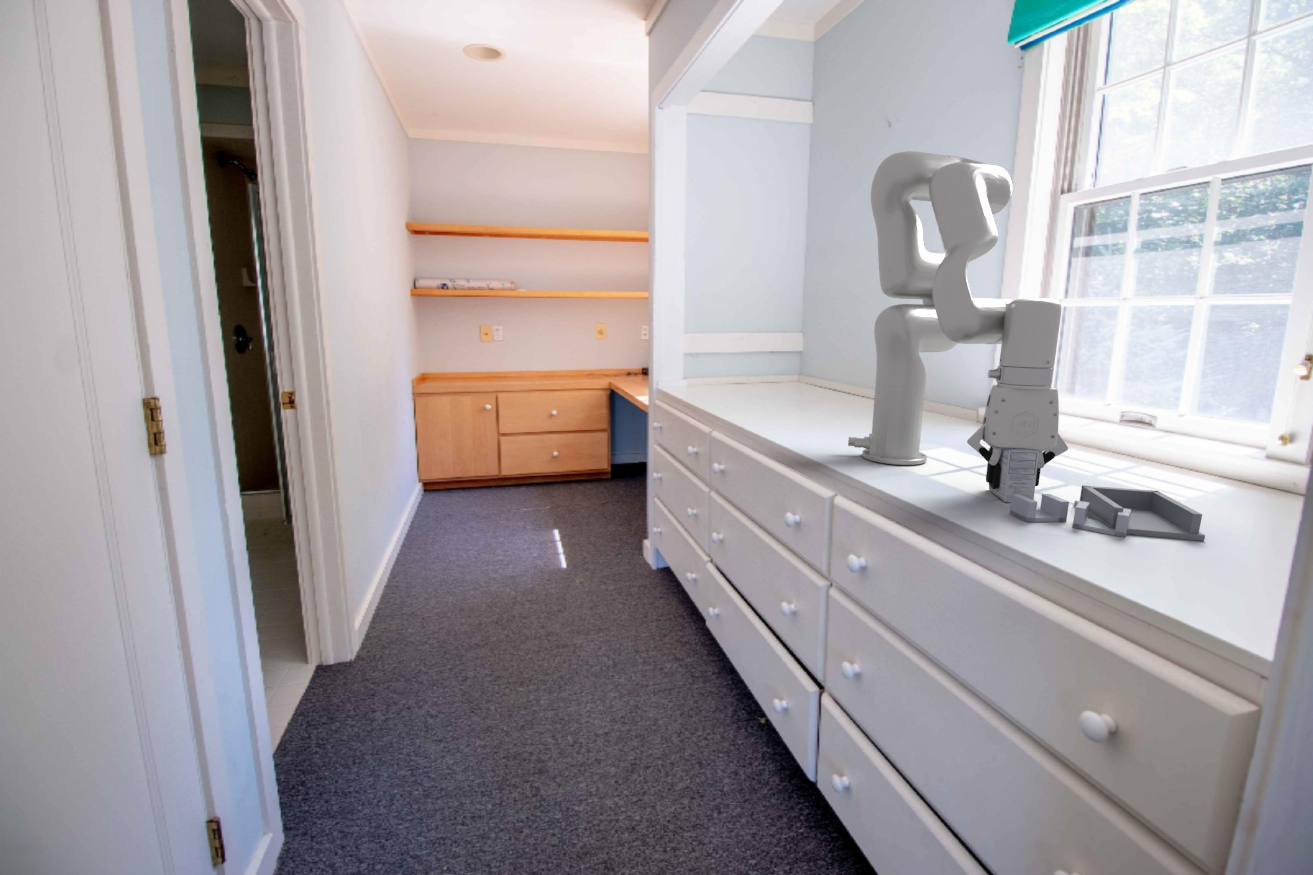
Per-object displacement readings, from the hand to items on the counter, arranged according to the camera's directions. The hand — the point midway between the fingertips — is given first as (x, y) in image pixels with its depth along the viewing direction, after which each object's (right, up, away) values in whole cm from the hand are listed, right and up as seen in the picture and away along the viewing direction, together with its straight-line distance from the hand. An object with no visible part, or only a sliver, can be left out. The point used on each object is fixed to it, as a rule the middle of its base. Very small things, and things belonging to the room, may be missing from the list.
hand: (1011, 487), depth 101 cm
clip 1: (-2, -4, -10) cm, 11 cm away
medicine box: (0, -2, 0) cm, 2 cm away
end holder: (+11, -4, -12) cm, 17 cm away
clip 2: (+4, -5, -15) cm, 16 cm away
